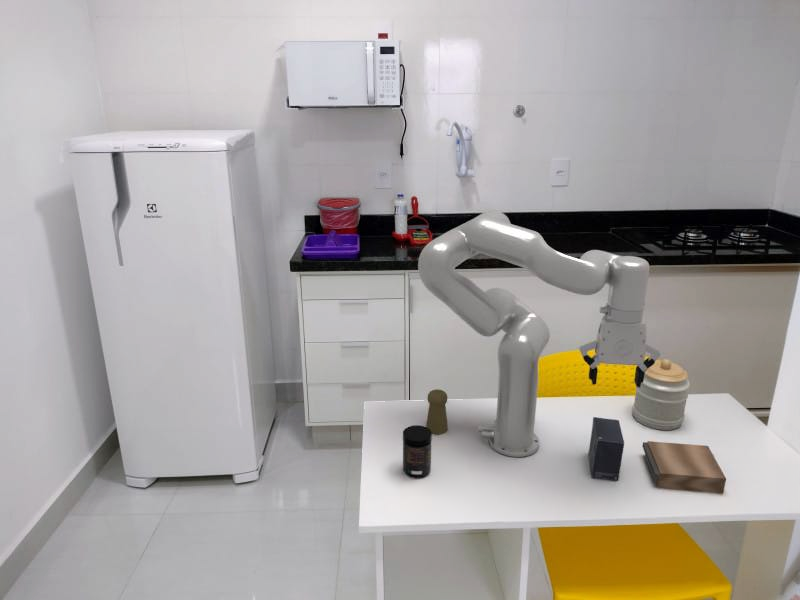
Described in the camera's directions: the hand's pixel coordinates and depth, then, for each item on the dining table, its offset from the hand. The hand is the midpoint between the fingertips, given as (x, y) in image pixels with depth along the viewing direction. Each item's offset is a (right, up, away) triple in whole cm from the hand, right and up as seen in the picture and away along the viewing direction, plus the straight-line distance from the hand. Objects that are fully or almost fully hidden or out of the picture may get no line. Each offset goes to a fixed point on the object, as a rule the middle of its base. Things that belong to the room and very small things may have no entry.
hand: (615, 383), depth 142 cm
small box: (0, -21, +8) cm, 23 cm away
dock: (+18, -22, +5) cm, 29 cm away
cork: (-39, -15, +24) cm, 48 cm away
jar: (+21, -14, +29) cm, 38 cm away
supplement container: (-45, -22, +6) cm, 50 cm away
